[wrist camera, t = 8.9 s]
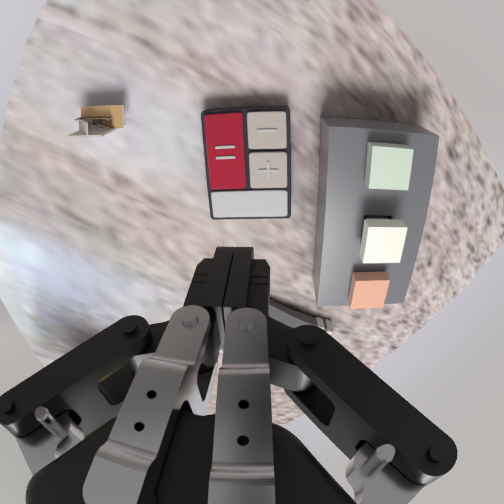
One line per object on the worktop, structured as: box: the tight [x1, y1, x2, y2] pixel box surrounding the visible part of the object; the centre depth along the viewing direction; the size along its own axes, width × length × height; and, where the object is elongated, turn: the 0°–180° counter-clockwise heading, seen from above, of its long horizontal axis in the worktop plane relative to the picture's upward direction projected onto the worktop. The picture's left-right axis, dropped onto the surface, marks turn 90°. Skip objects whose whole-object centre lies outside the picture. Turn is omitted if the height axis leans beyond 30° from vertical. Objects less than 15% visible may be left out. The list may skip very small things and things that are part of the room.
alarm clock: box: [219, 299, 333, 354], centre depth 60 cm, size 17×5×16 cm
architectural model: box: [67, 105, 125, 137], centre depth 36 cm, size 3×7×7 cm, turn 84°
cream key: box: [359, 215, 408, 263], centre depth 38 cm, size 5×5×6 cm
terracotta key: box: [348, 271, 390, 309], centre depth 44 cm, size 5×5×6 cm
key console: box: [313, 117, 439, 306], centre depth 42 cm, size 26×14×7 cm, turn 3°
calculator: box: [201, 106, 291, 219], centre depth 41 cm, size 11×4×15 cm
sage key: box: [364, 142, 414, 190], centre depth 35 cm, size 5×5×6 cm
